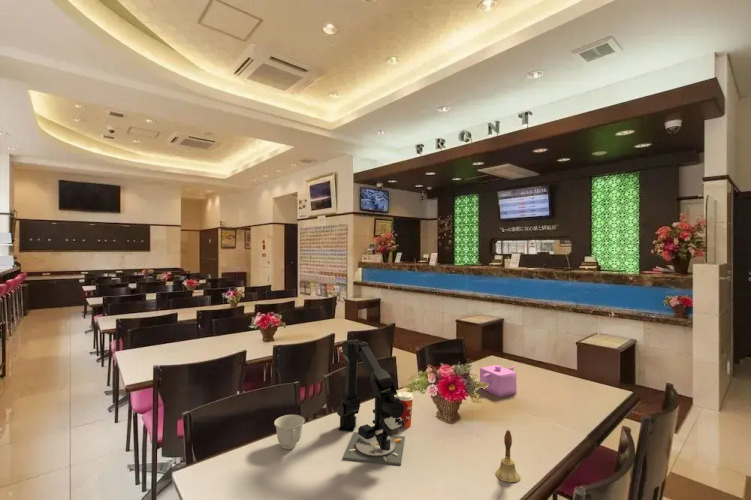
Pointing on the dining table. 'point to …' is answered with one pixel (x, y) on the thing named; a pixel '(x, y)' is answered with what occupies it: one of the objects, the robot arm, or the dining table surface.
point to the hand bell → (507, 463)
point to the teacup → (289, 430)
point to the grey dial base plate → (391, 458)
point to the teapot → (499, 380)
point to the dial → (375, 446)
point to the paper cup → (406, 407)
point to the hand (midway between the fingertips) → (381, 448)
